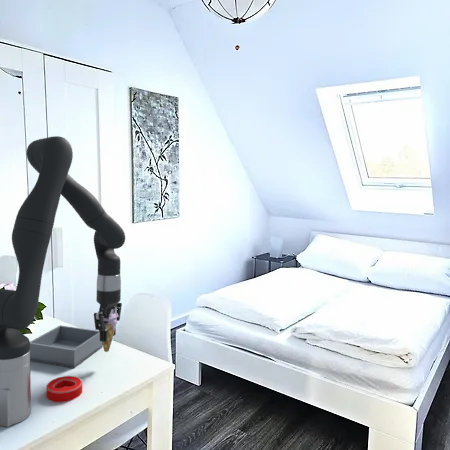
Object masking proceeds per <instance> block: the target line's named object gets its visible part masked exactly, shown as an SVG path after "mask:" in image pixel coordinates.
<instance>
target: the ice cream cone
mask: <svg viewBox="0 0 450 450" xmlns="http://www.w3.org/2000/svg"><path fill="white" fill-rule="evenodd" d="M98 312H99V310H98V311H97V313H98ZM117 317H119V316H118V314H117V315H116V314H115V313H114V312H112V315H111V317H110V318H109V320H108V319H107V318H103V321H110V322H109V323H108V325H107V326H108V327H107V341H106V342H102V345H103V347H102V348H103V351H104V353H108V352H109V351H110V348H111V345H112V341H113V339H114V336H113V335H114V331H115V328H117V324H118V321H117V319H116V318H117ZM116 323H117V324H116ZM98 325H99V324H98ZM104 326H105V323H104ZM98 331H99V333H100V330H98Z"/></svg>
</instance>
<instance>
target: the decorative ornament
mask: <svg viewBox="0 0 450 450" xmlns="http://www.w3.org/2000/svg"><path fill="white" fill-rule="evenodd" d="M45 388H46V392H45V393H46V399H48V401H50V402H54V403H65V402H71V401H73V400H75V399H77V398H79V397H80V396H81V395H82V393H83V380H82V379H81V378H80V377H77V376H71V375H64V376H60V377H57V378H54V379H52V380H51V381H49V382H48V383H47V384H46V387H45Z"/></svg>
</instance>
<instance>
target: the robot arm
mask: <svg viewBox="0 0 450 450" xmlns="http://www.w3.org/2000/svg"><path fill="white" fill-rule="evenodd" d="M73 157H74V153H73V147H72V145H71V143H70V142H69V141H68V139H67V138H66V137H62V136H59V135H58V136H56V135H55V136H49V137H44V138H39V139H36V140H34V141H31V142H30V143H29V144H28V146H27V148H26V159H27V161H28V163H29V164H30V165H31V167H32V168H33V169H34V170H35V171H36V173H38V177H37V180H36V181H35V182H36V183H35V184H34V186H33V188H32V190H31V191H30V192H29V194H28V196H27V197H26V198H25V199H24V201H23V203H22V204H21V206H20V207H19V209H18V211H17V214H16V217H15V221H14V224H13V228H12V233H11V244H12V247H13V251H14V254H15V255H14V256H15V257H16V262H17V264H18V279H17V283H16V287H15V290H13V289H6V288H4V289H3V288H0V427H6V428H9V427H11V426H13V425H16V424H18V423H21V422H23V421H25V420H26V419H27V418H29V417H30V415H31V413H32V412H31V411H32V396H31V395H32V392H31V389H32V388H31V387H32V386H31V381H32V380H31V361H30V341H31V340H30V338H29V337H27V335H25V334H23V333H22V332H21V331H20V330H25V329H27V328H28V327H29V326H31V324H32V322H33V321H34V319H35V317H36V314H37V311H38V306H39V301H40V300H39V299H40V292H41V287H42V286H41V285H42V278H43V271H44V266H45V260H46V257H47V253H48V252H47V251H48V248H49V244H50V241H51V238H52V234H53V233H52V232H53V229H54V223H55V219H56V214H57V211H58V208H59V207H58V206H59V204H60V199H61V196H62V197H63V198H64V199H65V200H66V201H67V202H68V204H69V205H70V206H71V207H72V208H73V210H74V211H75V212H76V213H77V215H78V216H79V217H80V219H81V220H82V221H83V222H84V224H85V225H86V226H87V227H88V228H90V229H92V230H94V235H93V244H94V251H95V254H96V258H97V276H96V302H97V304H99V309H98V311H99V312H98V311H97V312H93V320H94V321H93V322H94V327H95V328H94V330H96V331H99V330H100V341H102V342H106V341H107V327H108V326H107V325H108V323H109V322H110V321H103V318H107V319H108V320H109V318H110V317H111V315H112V312H114V313H115V314H116V315H118V316H119V317H117V318H116V319H117V323H116V325H117V324H118V322H119V321H120V319H121V314H122V306H123V304H122V302H121V298H122V297H121V296H122V295H121V291H122V290H121V289H122V280H121V279H122V278H121V258H120V256H118V255H117V254H116V252H115V249H116V250H117V249H119V248H122V247H123V246H124V244H125V243H126V233H125V231H124V230H123V228H122V227H121V225H120V224H119V223H118V222H117V221H116V220H115V219H113V218H112V216H111V215H109V214H108V213H107V212H106V210H105V209H104V207H103V206H102V205H101V204H100V202H99V200H98V199H97V198H96V196H94V194H93V193H91V192H90V191H89V189H86V188H85V187H84V186H83V185H81V184H80V183H79V182H77V181H76V180H75V179H74V178H73V177H72V176H71V175H70V174H69V172H70V169H71V166H72V163H73ZM104 323H105V326H104ZM98 324H99V325H98ZM116 328H117V327H116ZM116 328H115V331H114V335H113V337H115V336H116V335H117V329H116Z"/></svg>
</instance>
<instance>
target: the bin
mask: <svg viewBox="0 0 450 450" xmlns="http://www.w3.org/2000/svg"><path fill="white" fill-rule="evenodd" d="M29 341H30V362H34V363H35V362H36V363H41V364H47V365H54V366H59V367H63V368H64V367H66V368H71V369H75V368H76V367H79V366H80V365H81V364H82V363H84V362H85V361H86V360H87V359H89V358H90V357H92V356H93V355H94V354H96V353H97V352H98V351H100V350H101V349H102V348H103V345H102V341H100V333H99V330H96V329H90V328H89V329H88V328H83V327H82V328H80V327H73V326H67V325H61V324H60V325H58V326H56V327H54V328H53V329H51V330H48V331H47V332H46V333H43V334H42V335H39V336H37V337H36V338H34V339H33V340H29Z"/></svg>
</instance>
